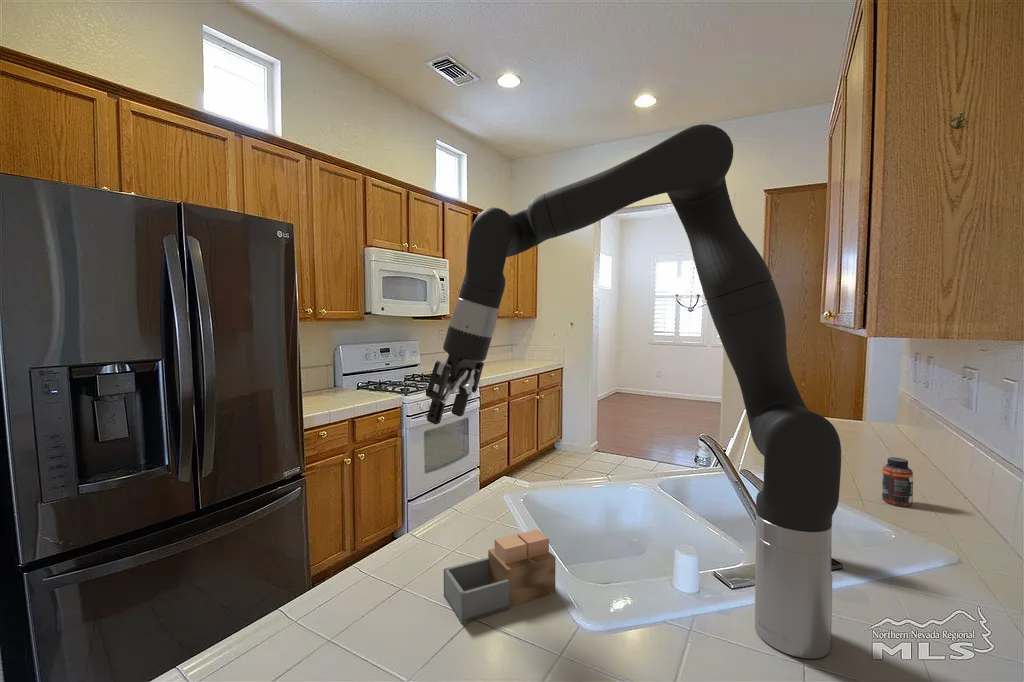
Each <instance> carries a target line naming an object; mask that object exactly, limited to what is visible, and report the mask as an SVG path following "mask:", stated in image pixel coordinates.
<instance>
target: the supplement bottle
mask: <svg viewBox="0 0 1024 682" xmlns="http://www.w3.org/2000/svg"><path fill="white" fill-rule="evenodd" d="M886 462H887V463H886V464H885V465H884V466H883V467H882V478H881V479H882V486H881V489H882V491H881V493H882V494H881V496H882V498H881V499H882V500H883V501H884V502H885V503H887V504H890V505H894V506H897V507H911V506H913V500H914V499H913V497H914V494H913V493H914V472H913V470H912V469H911V468H909V461H908V459H906V458H902V457H895V456H890V457H887V461H886Z"/></svg>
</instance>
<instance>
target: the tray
mask: <svg viewBox="0 0 1024 682" xmlns="http://www.w3.org/2000/svg"><path fill="white" fill-rule="evenodd" d="M443 597H444V598H445V600H446V602H447V603H448V605H449V606H450V607H451V610H452V611H453V612H454V615H456V617H457V619H458V621H459V623H460V624H461V625H463V624H467V623H471V622H472V621H476V620H479V619H483V618H485V617H486V618H487V617H489V616H492V615H495V614H497V613H501V612H505V611H507V610H510V607H509V580H508V579H506V580H503V581H499V582H496V583H492V584H491V583H490V582H489V559H488V557H485V558H484V557H483V558H481V559H478V560H477V559H476V560H472V561H469V562H464V563H460V564H457V565H452V566H449V567H445V568H443Z"/></svg>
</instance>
